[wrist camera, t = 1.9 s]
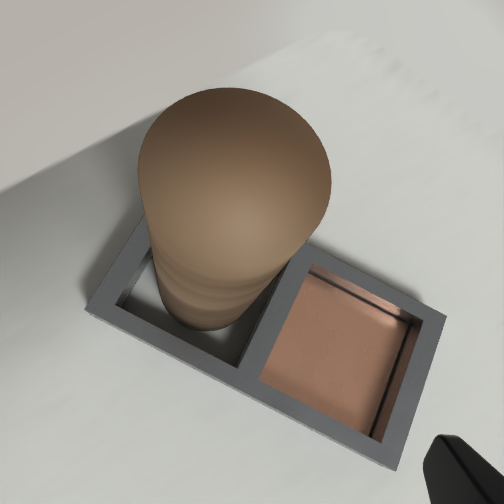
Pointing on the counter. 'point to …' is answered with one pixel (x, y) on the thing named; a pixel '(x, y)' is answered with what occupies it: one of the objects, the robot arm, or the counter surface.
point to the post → (228, 199)
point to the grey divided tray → (310, 348)
